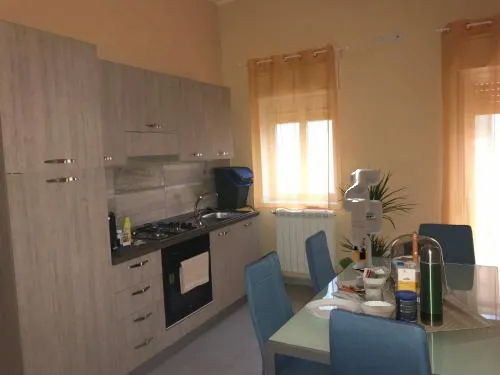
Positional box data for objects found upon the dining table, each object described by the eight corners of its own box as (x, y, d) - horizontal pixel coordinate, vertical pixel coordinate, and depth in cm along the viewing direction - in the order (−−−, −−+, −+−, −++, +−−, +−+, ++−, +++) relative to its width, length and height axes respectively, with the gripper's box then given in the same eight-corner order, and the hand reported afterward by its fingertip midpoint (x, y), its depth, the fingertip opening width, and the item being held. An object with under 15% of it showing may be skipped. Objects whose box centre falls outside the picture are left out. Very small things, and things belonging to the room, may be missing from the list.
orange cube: (351, 260, 211) (351, 250, 211) (361, 258, 213) (361, 249, 212) (357, 262, 205) (357, 253, 205) (368, 261, 207) (367, 251, 207)
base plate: (349, 287, 213) (349, 284, 213) (362, 285, 215) (362, 283, 215) (357, 292, 205) (357, 289, 205) (371, 290, 207) (371, 287, 207)
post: (356, 285, 211) (355, 276, 211) (361, 285, 212) (360, 275, 212) (358, 287, 208) (358, 278, 208) (364, 286, 209) (363, 277, 209)
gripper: (344, 222, 215) (344, 255, 216) (360, 226, 199) (361, 262, 200) (356, 221, 217) (357, 254, 218) (374, 225, 201) (374, 261, 202)
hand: (359, 257), depth 209 cm, fingers closed on orange cube, 6 cm apart
